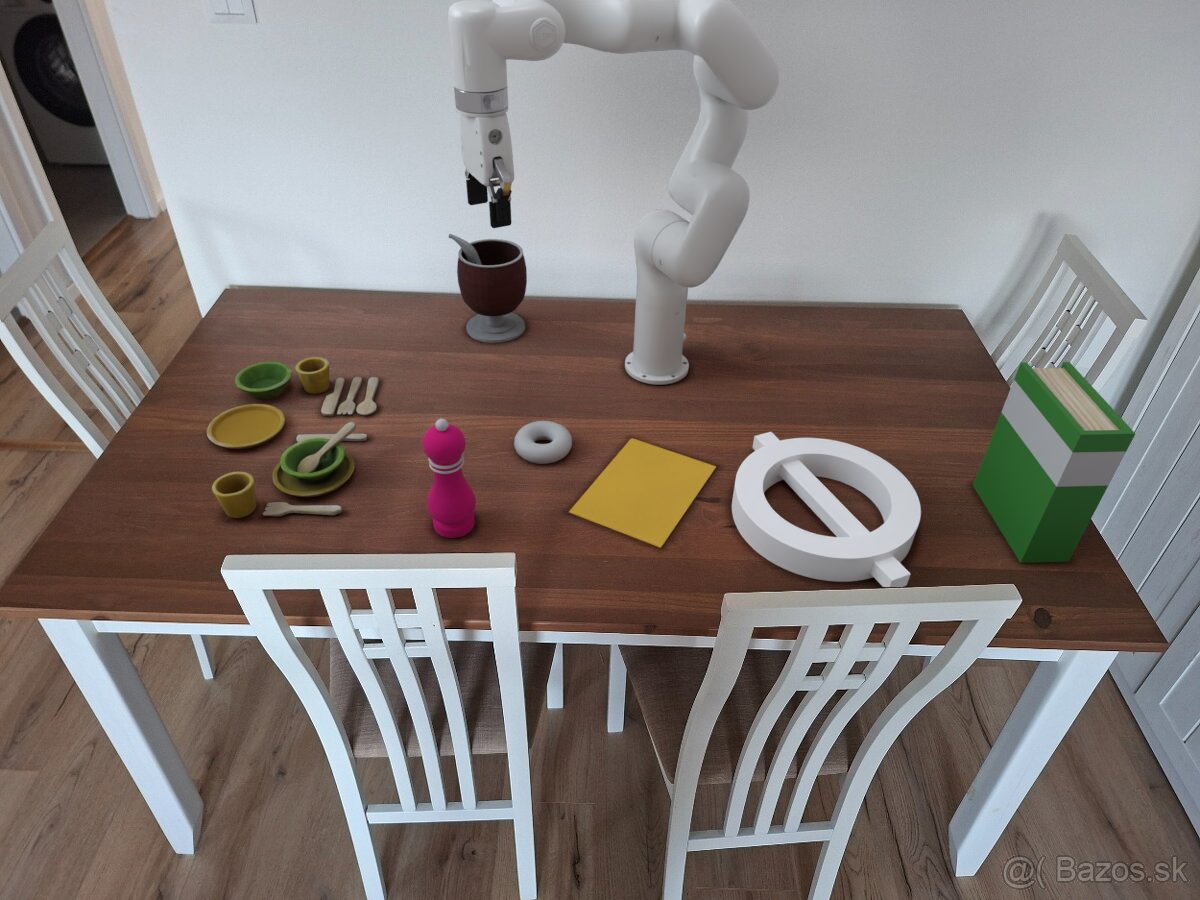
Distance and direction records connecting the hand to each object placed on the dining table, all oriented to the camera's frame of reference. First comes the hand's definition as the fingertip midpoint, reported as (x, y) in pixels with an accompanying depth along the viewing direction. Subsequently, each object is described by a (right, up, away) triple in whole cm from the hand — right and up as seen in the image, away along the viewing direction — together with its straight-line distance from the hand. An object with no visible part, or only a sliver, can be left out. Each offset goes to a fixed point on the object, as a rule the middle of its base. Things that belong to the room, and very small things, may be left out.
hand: (489, 214), depth 129 cm
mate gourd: (-6, -11, +47) cm, 48 cm away
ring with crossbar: (+52, -47, +2) cm, 70 cm away
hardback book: (+83, -48, +2) cm, 96 cm away
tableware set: (-37, -35, +15) cm, 53 cm away
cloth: (+25, -43, +6) cm, 50 cm away
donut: (+7, -37, +15) cm, 40 cm away
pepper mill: (-5, -48, -1) cm, 49 cm away
